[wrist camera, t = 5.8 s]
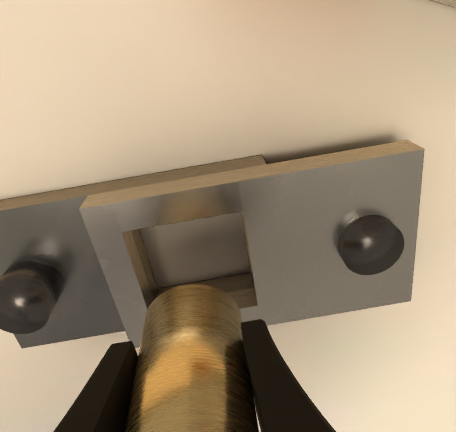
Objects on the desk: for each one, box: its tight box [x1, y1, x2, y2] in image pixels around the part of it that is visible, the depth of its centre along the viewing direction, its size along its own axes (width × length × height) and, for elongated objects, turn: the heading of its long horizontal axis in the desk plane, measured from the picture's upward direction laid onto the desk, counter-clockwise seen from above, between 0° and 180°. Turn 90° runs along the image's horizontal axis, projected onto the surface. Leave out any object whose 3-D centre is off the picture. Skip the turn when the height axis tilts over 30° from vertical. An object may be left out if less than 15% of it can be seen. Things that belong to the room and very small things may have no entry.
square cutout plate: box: [0, 140, 424, 348], centre depth 16 cm, size 18×7×3 cm, turn 99°
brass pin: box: [125, 284, 259, 432], centre depth 10 cm, size 3×3×6 cm
